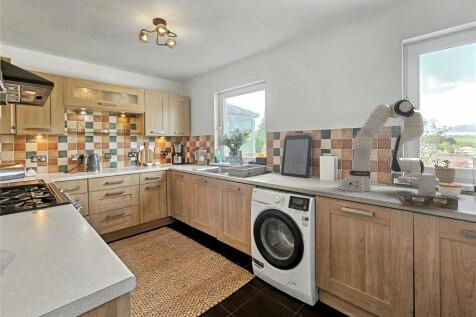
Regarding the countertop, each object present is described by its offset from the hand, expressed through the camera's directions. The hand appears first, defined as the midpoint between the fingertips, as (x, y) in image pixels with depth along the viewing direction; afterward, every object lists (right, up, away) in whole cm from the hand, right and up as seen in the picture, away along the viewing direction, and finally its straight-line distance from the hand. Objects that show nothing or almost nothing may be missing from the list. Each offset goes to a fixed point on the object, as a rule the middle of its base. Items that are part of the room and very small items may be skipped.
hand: (420, 182), depth 134 cm
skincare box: (-4, -9, -9) cm, 14 cm away
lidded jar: (+24, -10, +7) cm, 27 cm away
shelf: (-5, -11, -10) cm, 16 cm away
